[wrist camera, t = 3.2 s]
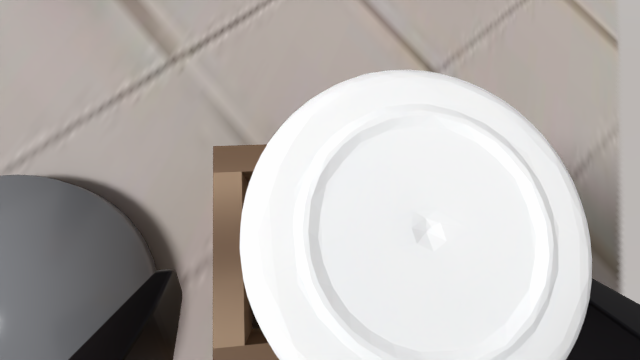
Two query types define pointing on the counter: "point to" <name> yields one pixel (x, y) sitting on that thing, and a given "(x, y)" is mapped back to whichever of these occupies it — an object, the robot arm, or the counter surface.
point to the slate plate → (62, 266)
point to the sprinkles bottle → (414, 228)
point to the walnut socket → (233, 258)
